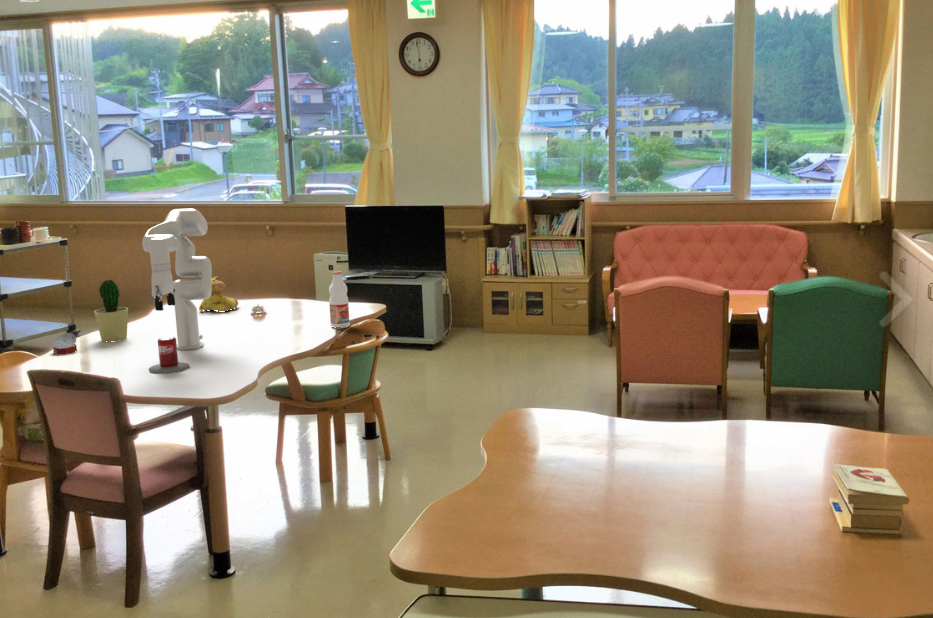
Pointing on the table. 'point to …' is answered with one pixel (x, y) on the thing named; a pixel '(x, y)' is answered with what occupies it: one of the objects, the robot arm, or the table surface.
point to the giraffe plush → (218, 298)
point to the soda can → (168, 352)
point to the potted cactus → (111, 314)
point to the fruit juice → (338, 301)
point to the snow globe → (65, 344)
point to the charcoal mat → (180, 367)
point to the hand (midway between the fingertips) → (165, 307)
